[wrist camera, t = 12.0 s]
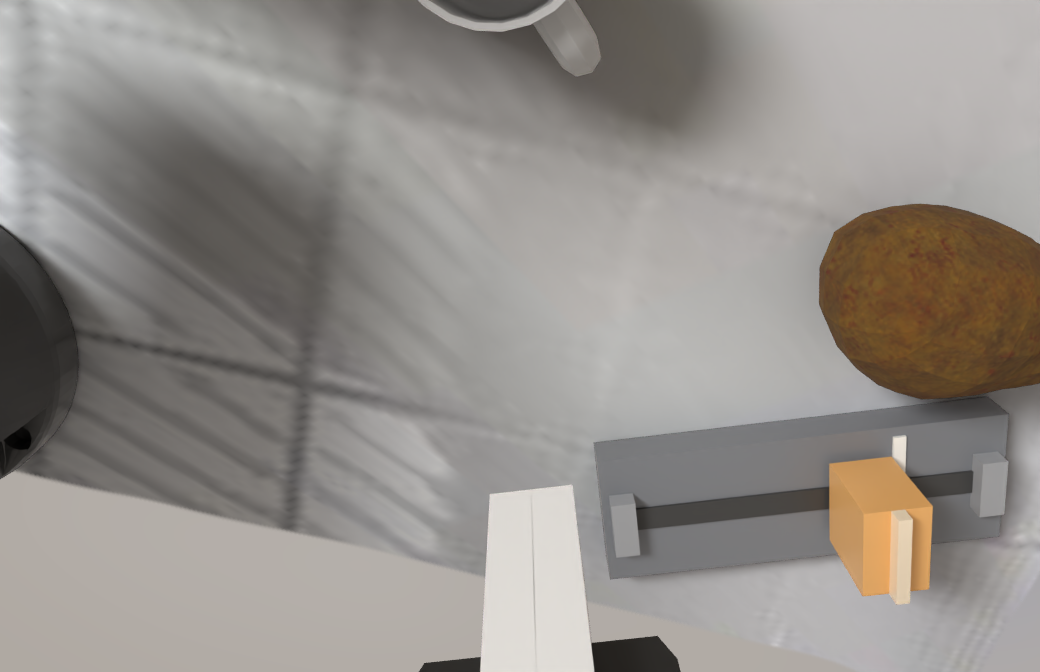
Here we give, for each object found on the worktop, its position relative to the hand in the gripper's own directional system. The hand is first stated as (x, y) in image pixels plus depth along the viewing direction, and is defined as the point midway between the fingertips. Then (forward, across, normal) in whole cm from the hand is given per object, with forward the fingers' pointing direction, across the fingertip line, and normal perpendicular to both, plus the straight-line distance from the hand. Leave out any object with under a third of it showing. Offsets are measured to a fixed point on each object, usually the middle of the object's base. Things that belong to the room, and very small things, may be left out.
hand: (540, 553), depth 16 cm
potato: (+27, +18, -6) cm, 33 cm away
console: (+26, +12, -16) cm, 33 cm away
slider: (+24, +15, -16) cm, 32 cm away
